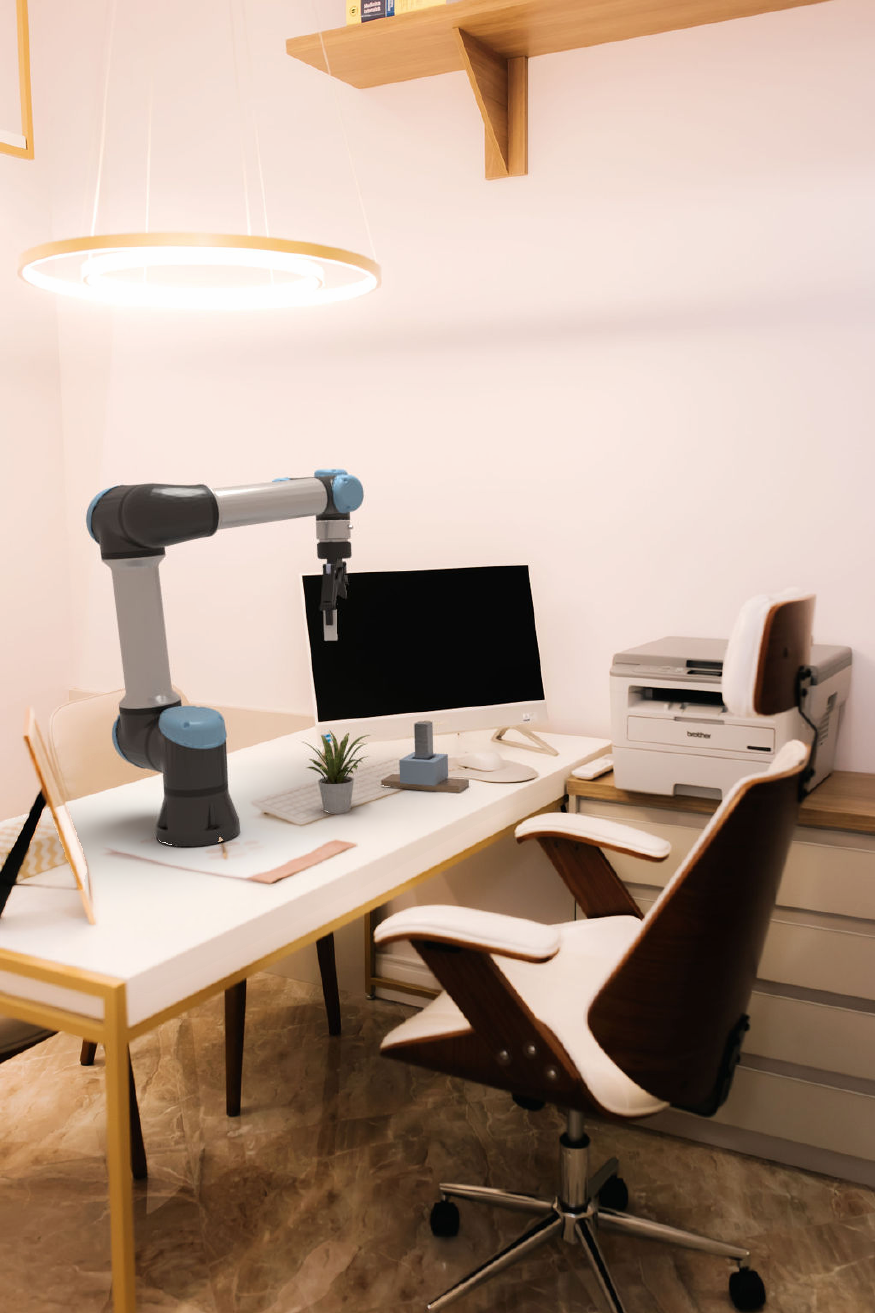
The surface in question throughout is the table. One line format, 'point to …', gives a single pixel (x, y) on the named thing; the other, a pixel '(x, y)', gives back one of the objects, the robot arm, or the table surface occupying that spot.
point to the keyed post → (425, 752)
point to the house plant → (336, 775)
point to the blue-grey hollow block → (423, 769)
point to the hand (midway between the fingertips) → (337, 636)
